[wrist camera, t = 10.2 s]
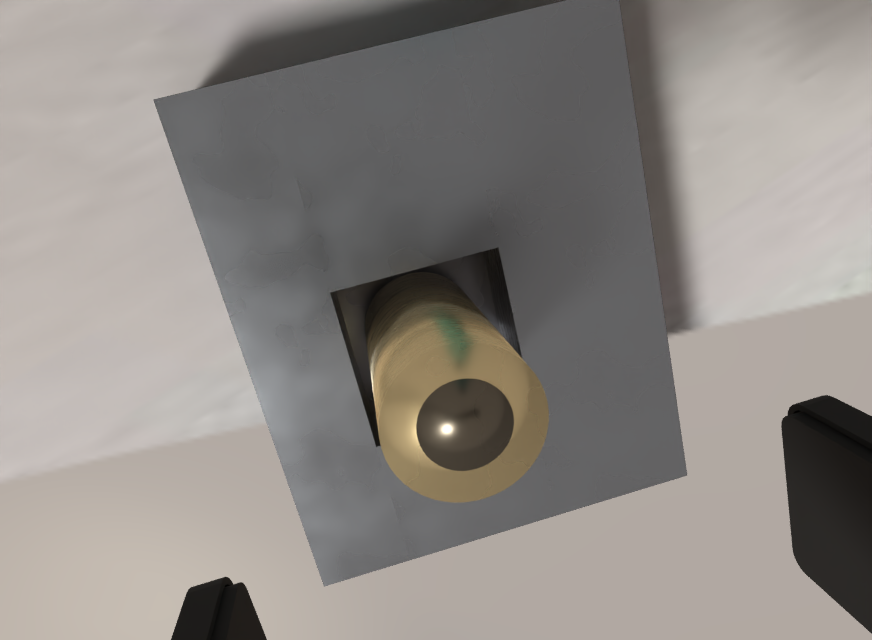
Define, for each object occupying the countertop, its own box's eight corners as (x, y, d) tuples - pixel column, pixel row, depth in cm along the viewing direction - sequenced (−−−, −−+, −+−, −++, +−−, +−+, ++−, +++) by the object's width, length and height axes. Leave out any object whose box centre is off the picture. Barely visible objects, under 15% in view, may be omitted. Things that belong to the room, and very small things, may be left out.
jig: (325, 530, 26) (323, 586, 23) (182, 107, 21) (153, 99, 18) (644, 435, 27) (687, 475, 24) (575, 11, 23) (617, -13, 19)
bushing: (351, 289, 23) (357, 371, 15) (461, 259, 24) (530, 322, 15) (381, 392, 25) (403, 524, 16) (485, 362, 25) (563, 475, 16)
